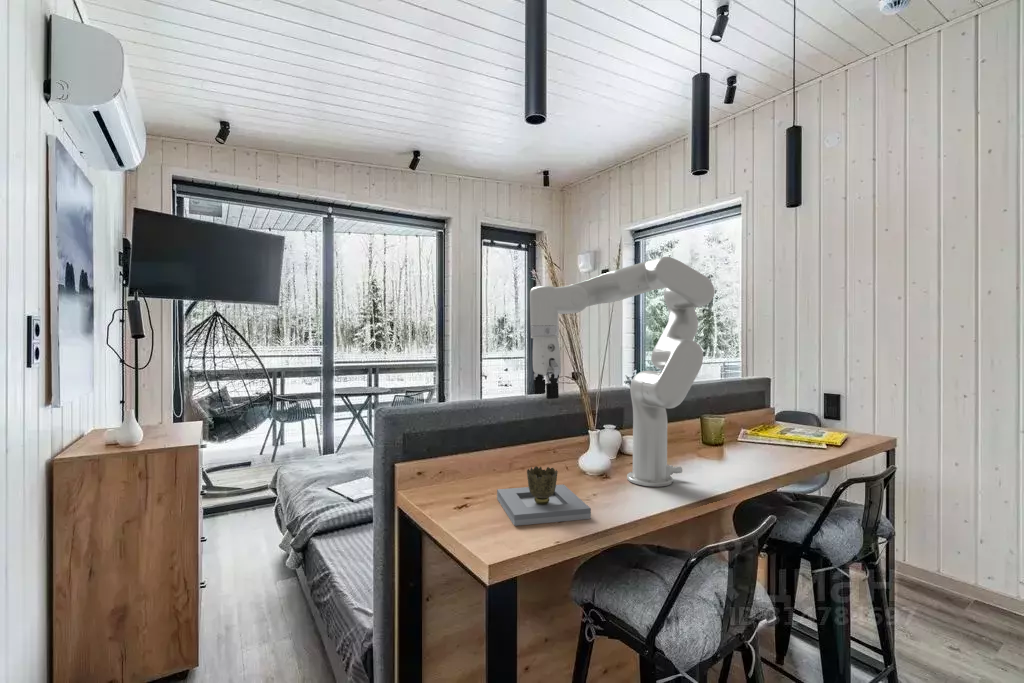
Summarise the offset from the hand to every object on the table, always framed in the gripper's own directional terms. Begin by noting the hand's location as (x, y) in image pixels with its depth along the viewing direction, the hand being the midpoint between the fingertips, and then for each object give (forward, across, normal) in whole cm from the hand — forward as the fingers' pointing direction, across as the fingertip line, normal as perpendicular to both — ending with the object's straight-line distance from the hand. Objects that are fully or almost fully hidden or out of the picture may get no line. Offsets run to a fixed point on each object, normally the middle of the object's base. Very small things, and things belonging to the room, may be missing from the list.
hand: (545, 396), depth 132 cm
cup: (+24, -13, +6) cm, 28 cm away
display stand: (+25, -13, +6) cm, 29 cm away
